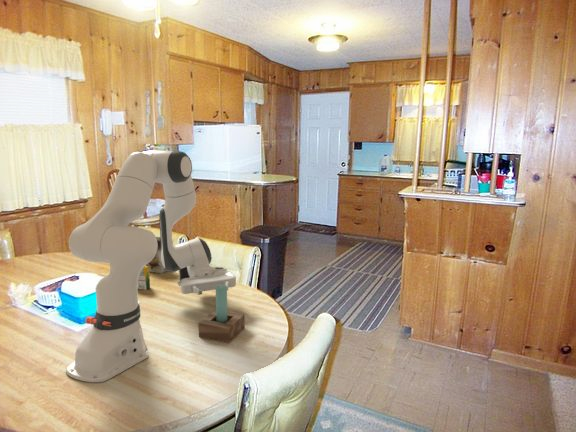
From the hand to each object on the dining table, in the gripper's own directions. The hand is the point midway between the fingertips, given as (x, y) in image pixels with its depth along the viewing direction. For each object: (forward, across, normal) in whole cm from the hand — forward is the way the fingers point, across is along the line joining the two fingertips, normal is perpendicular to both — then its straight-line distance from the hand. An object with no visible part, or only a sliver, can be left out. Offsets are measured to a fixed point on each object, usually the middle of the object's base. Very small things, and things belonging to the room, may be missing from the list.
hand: (213, 290), depth 141 cm
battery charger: (-44, -2, +11) cm, 45 cm away
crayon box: (-41, -21, +11) cm, 48 cm away
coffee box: (-62, -12, +11) cm, 64 cm away
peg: (+11, 0, +10) cm, 15 cm away
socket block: (+11, 0, +10) cm, 15 cm away
